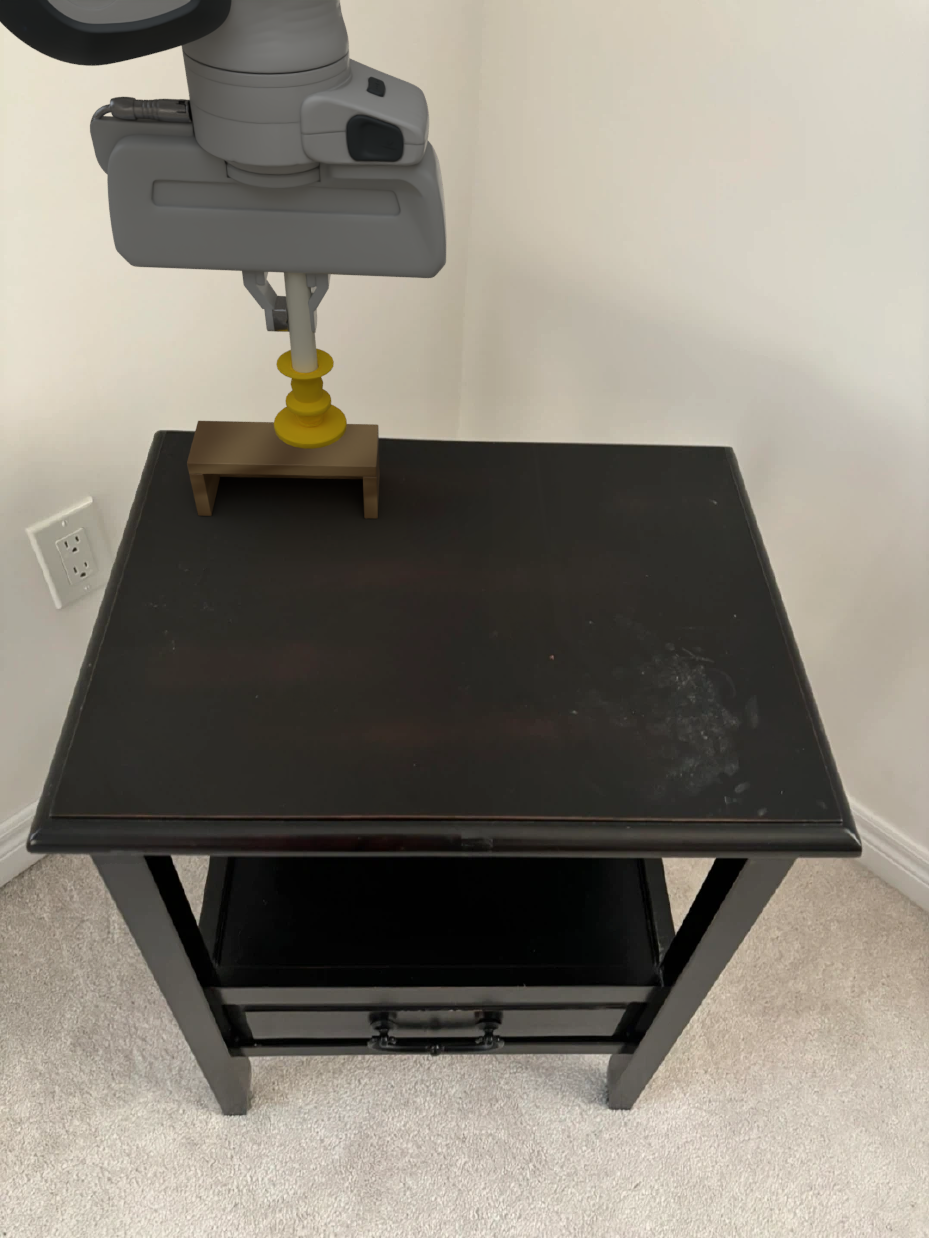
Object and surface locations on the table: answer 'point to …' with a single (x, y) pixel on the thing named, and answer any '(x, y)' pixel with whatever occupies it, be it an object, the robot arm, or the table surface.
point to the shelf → (279, 459)
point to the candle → (306, 378)
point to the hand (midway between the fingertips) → (292, 328)
